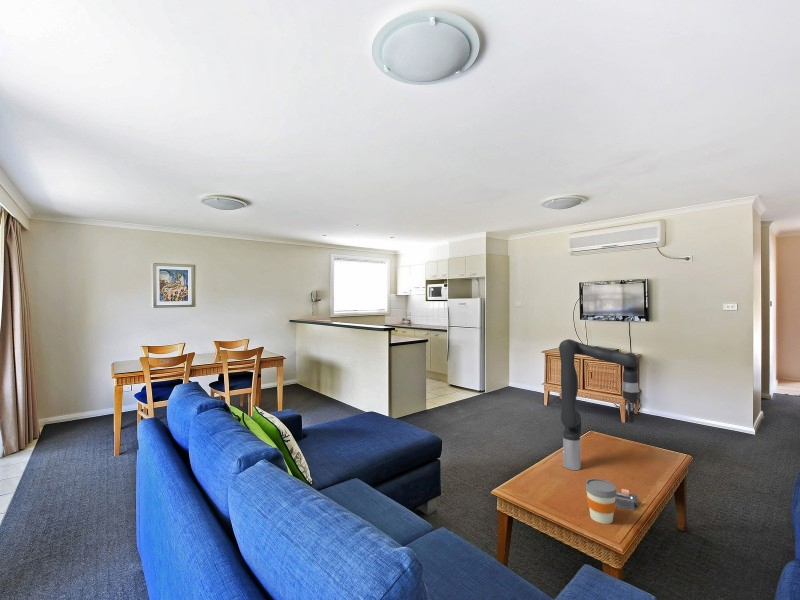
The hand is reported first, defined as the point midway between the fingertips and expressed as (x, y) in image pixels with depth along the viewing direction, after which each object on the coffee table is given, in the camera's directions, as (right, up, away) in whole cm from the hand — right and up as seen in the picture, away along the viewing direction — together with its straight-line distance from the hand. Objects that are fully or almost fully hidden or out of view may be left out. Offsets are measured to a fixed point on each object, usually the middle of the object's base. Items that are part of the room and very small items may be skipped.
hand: (631, 421), depth 206 cm
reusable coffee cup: (-34, -33, -34) cm, 58 cm away
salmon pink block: (-15, -32, -20) cm, 41 cm away
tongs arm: (-19, -32, -21) cm, 43 cm away
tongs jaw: (-22, -32, -24) cm, 46 cm away
